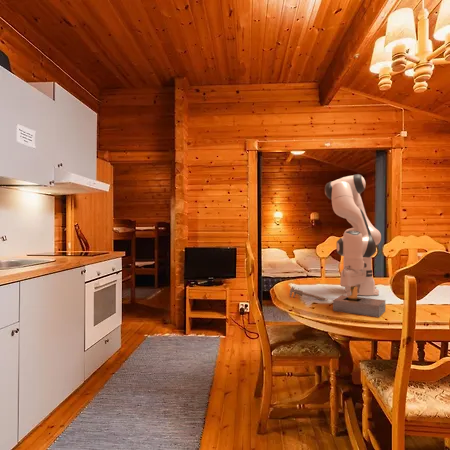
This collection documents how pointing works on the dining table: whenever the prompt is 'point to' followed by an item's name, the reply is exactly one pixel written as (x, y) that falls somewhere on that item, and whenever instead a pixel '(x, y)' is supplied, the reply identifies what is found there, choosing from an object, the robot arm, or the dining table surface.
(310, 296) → the caliper
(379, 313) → the block
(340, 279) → the robot arm
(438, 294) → the dining table surface
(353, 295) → the block
